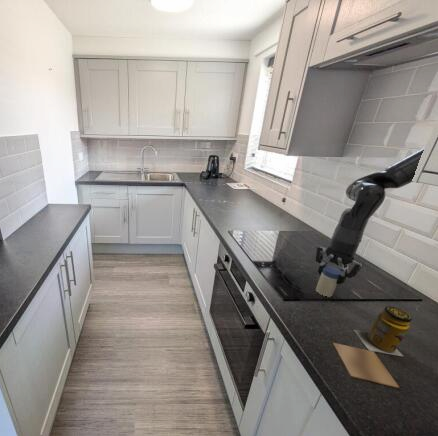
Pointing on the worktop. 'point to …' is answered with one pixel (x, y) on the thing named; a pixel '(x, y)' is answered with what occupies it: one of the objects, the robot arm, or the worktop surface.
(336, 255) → the robot arm
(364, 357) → the coaster
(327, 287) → the jar
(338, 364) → the worktop surface
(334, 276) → the lid
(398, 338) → the condiment
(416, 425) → the worktop surface
